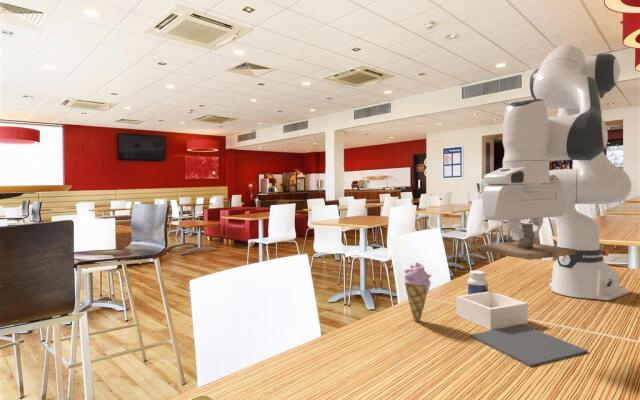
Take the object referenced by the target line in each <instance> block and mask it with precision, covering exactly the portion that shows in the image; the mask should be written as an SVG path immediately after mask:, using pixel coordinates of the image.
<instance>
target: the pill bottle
mask: <svg viewBox="0 0 640 400" xmlns="http://www.w3.org/2000/svg"><path fill="white" fill-rule="evenodd" d="M485 278H486V272H485V271H483V270H475V269H474V270H470V271H469V278H467V283H466V284H467V295H468V294H475V293H482V292H488V290H489V289H488V286H489V285H488V284H489V283H488V280H487V279H485Z"/></svg>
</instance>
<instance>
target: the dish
mask: <svg viewBox="0 0 640 400" xmlns="http://www.w3.org/2000/svg"><path fill="white" fill-rule="evenodd" d="M528 305H529V303H528V302H525V301H522V300H520V299H516V298H513V297H510V296H507V295H503V294H500V293H498V292H495V291H491V290H489V291H488V292H482V293H475V294H468V293H467V294H463V295H457V296H456V295H455V315H456V316H458V317H460V318H463V319H465V320H467V321H469V322H471V323H474V324H476V325H478V326H480V327H482V328H485V329H487V330H488V331H492V330H497V329H502V328H507V327H512V326H517V325H524V324H528V323H529V317H528V315H529V306H528Z"/></svg>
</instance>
